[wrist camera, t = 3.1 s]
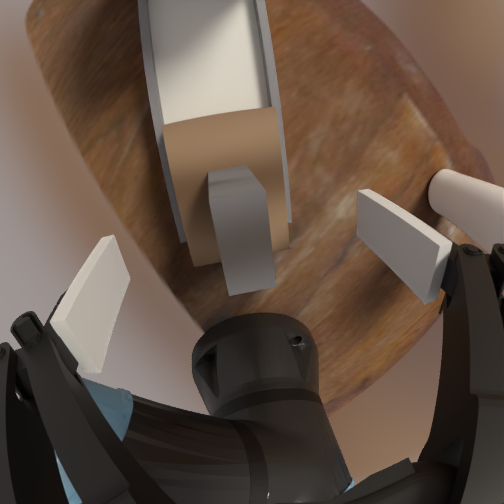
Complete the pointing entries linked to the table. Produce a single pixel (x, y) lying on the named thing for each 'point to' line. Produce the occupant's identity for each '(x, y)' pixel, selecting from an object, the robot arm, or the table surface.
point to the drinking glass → (469, 206)
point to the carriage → (231, 193)
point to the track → (207, 67)
